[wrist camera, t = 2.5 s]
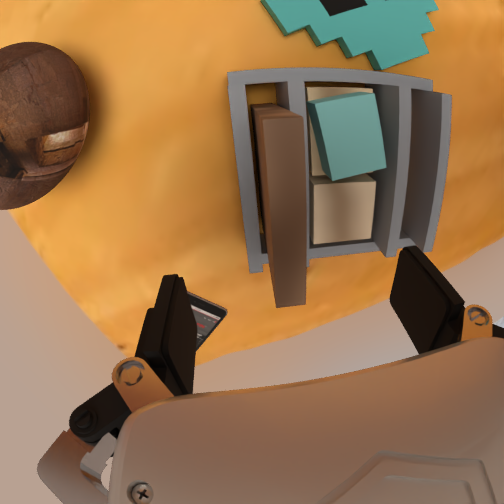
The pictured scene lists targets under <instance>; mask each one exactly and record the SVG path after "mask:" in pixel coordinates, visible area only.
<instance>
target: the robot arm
mask: <svg viewBox="0 0 504 504" xmlns="http://www.w3.org/2000/svg"><path fill="white" fill-rule="evenodd" d="M390 303H391V306H392V307H393V309H394V310H395V312H396V314H397V315H398V317H399V319H400V321H401V323H402V324H403V326H404V328H405V330H406V331H407V333H408V335H409V337H410V338H411V340H412V342H413V344H414V346H415V348H416V349H417V351H418V353H419V355H416V356H413V357H409V358H406V359H402V360H399V361H395V362H391V363H387V364H383V365H379V366H375V367H371V368H367V369H363V370H359V371H354V372H350V373H345V374H340V375H335V376H330V377H325V378H319V379H314V380H308V381H303V382H296V383H289V384H282V385H274V386H266V387H258V388H249V389H239V390H229V391H219V392H206V393H196V394H193V380H194V367H195V354H196V343H197V332H198V329H197V323H196V319H195V316H194V313H193V310H192V306H191V303H190V300H189V296H188V293H187V290H186V286H185V283H184V279H183V277H179V276H178V275H177V274H172V275H164V276H163V278H162V282H161V285H160V289H159V292H158V296H157V299H156V303H155V306H154V308H149V309H148V310H147V313H146V316H145V320H144V323H143V327H142V331H141V334H140V338H139V342H138V345H137V349H136V353H135V357H130V358H126V359H124V360H122V361H120V362H119V363H118V364H117V365H116V367H115V368H114V369H113V372H112V381H113V383H111V384H110V385H108V386H107V387H106V388H104V389H103V390H102V391H100V392H99V393H97V394H96V395H94V396H93V397H92V398H90V399H89V400H87V401H86V402H84V403H83V404H82V405H80V406H79V407H77V408H76V409H75V410H74V411H73V412H72V414H71V416H70V420H69V426H70V428H69V430H68V431H67V432H66V431H63V432H62V433H61V434H60V436H59V437H58V438H57V439H56V441H55V442H54V443H53V444H52V445H51V447H50V448H49V449H48V451H47V452H46V453H45V454H44V455H43V457H42V458H41V459H40V461H39V463H38V467H37V472H38V475H39V477H40V479H41V480H42V481H43V482H44V483H45V485H46V486H47V487H48V488H49V489H50V490H51V491H52V492H53V493H54V494H55V495H56V497H58V498H59V500H60V501H61V502H62V503H63V504H504V328H502V327H499V326H497V325H494V324H492V317H491V315H490V313H489V312H488V311H487V310H486V309H485V308H484V307H482V306H479V305H469V306H467V307H466V308H465V307H464V306H463V305H464V303H465V301H464V300H463V299H462V298H461V297H460V295H459V294H458V293H457V291H456V290H455V289H454V288H453V287H452V285H451V284H450V283H449V282H448V281H447V279H446V278H445V277H444V276H443V275H442V273H441V272H440V271H439V270H438V269H437V268H436V267H435V265H434V264H433V263H432V262H431V261H430V260H429V259H428V258H427V256H426V255H425V254H424V253H423V252H422V251H421V250H420V249H419V248H418V247H417V246H416V245H413V246H406V247H404V248H403V250H401V251H400V254H399V259H398V263H397V268H396V273H395V277H394V281H393V286H392V290H391V294H390ZM109 457H113V461H112V468H111V475H110V483H109V491H108V490H107V489H106V488H105V487H104V486H103V485H102V482H101V474H102V472H103V470H104V468H105V467H106V466H107V464H106V461H107V460H108V459H109ZM148 484H149V485H148Z"/></svg>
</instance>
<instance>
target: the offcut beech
mask: <svg viewBox="0 0 504 504" xmlns="http://www.w3.org/2000/svg"><path fill="white" fill-rule="evenodd" d="M375 189H376V181H375V180H373V179H372V178H371V177H370V176H368V175H367V174H366V173H363V174H358V175H354V176H350V177H346V178H342V179H338V180H335V181H332V180H331V179H330V178H329V177H328V176H327V175H317V176H312V175H311V174H310V172H309V235H310V237H311V240H312V242H313V244H321V243H331V242H340V241H350V240H359V239H369V238H371V230H372V222H373V212H374V201H375Z"/></svg>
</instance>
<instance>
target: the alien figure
mask: <svg viewBox="0 0 504 504" xmlns="http://www.w3.org/2000/svg"><path fill="white" fill-rule="evenodd" d="M261 3H262V4H263V5H264V7H265V8H266V9H267V11H268V12H269V14H270V15H271V16H272V18H273V19H274V21H275V22H276V24H277V25H278V27H279V28H280V30H281V31H282V33H283V34H284V36H287V35H289V34H291V33H294V32H296V31H299V30H301V29H303V28H306V30H307V32H308V33H309V35H310V36H311V38H312V40H313V41H314V43H315V45H316V46H319V45H322V44H324V43H327V42H329V41H332V40H334V39H336V40H337V42H338V44H339V45H340V47H341V49H342V51H343V52H344V54H345V56H346V58H349V57H353V56H356V55H359V54H361V53H364V52H365V53H366V55H367V57H368V59H369V61H370V63H371V65H372V67H373V69H374V70H383V69H385V68H388V67H391V66H393V65H396V64H399V63H402V62H405V61H407V60H410V59H413V58H416V57H419V56H422V55H425V54H428V53H429V51H428V49H427V47H426V45H425V42H424V40H423V38H422V36H421V34H424V33H427V32H431V31H435V30H434V28H433V26H432V24H431V22H430V20H429V18H428V16H427V14H426V12H431V11H436V10H439V9H438V7H437V5H436V3H435V2H434V0H261Z"/></svg>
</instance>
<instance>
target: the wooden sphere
mask: <svg viewBox="0 0 504 504" xmlns="http://www.w3.org/2000/svg"><path fill="white" fill-rule="evenodd" d="M89 116H90V102H89V94H88V89H87V85H86V82H85V80H84V77H83V75H82V73H81V71H80V69H79V68H78V66H77V65H76V64H75V62H74V61H73V60H72V59H71V58H70V57H69V56H68V55H67V54H65V53H64V52H63V51H61V50H59V49H58V48H56V47H53V46H51V45H48V44H44V43H38V42H22V43H17V44H12V45H9V46H6V47H4V48H1V49H0V210H8V209H14V208H19V207H22V206H25V205H28V204H30V203H32V202H34V201H36V200H38V199H40V198H41V197H43V196H44V195H46V194H47V193H48V192H50V191H51V190H52V189H53V188H54V187H55V186H56V185H57V184H58V183H59V182H60V181H61V180H62V179H63V178H64V177H65V176H66V174H67V173H68V172H69V170H70V169H71V167H72V166H73V164H74V162H75V161H76V159H77V157H78V155H79V153H80V151H81V149H82V146H83V143H84V141H85V137H86V134H87V130H88V124H89Z"/></svg>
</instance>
